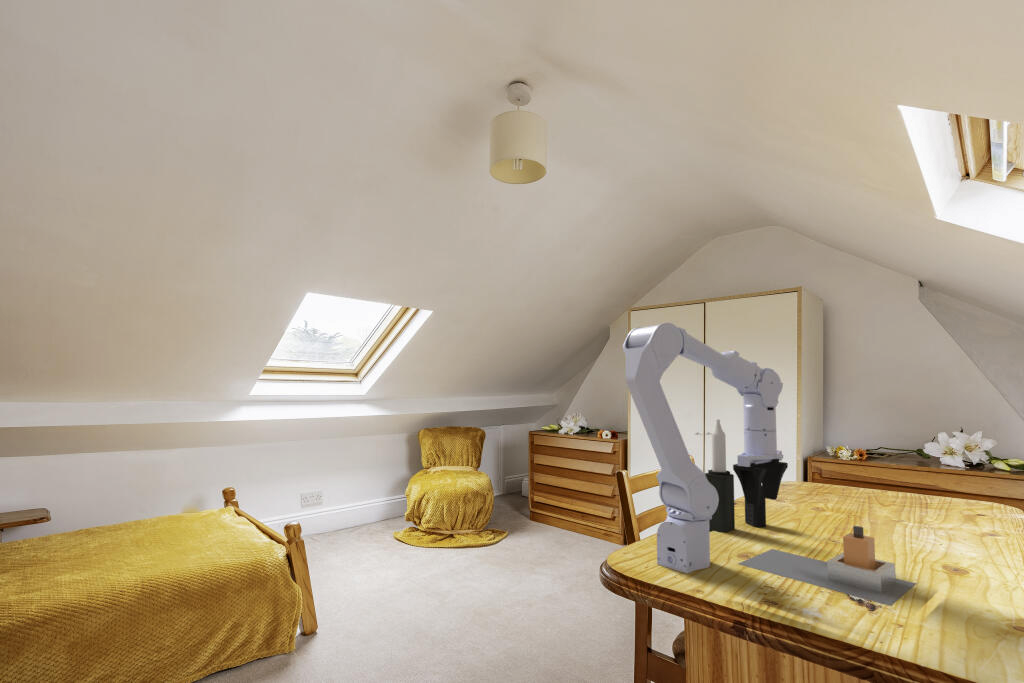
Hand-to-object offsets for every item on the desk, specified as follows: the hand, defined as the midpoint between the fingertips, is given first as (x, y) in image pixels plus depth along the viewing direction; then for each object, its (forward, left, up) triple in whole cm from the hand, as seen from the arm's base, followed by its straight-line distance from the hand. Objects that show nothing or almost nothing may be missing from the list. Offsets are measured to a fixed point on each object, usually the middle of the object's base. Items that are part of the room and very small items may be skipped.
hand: (761, 501), depth 102 cm
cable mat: (-3, -12, -10) cm, 16 cm away
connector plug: (-2, -17, -10) cm, 19 cm away
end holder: (-2, -17, -10) cm, 20 cm away
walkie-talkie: (+23, +12, -11) cm, 28 cm away
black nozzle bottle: (+10, +14, -11) cm, 20 cm away
